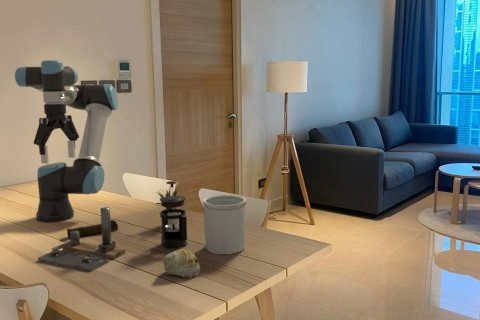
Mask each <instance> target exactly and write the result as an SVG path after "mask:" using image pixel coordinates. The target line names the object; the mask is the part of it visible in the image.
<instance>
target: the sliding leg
mask: <svg viewBox="0 0 480 320" xmlns="http://www.w3.org/2000/svg"><path fill="white" fill-rule="evenodd" d="M110 220H111V208H110V207H109V206H106V207H105V206H104V207H100V224H101V227H102V232H101V238H102V239H101V241H102V242H101V243H99V244H98V245H99V248H97V249H95V250H93V251H91V252H89V253H87V254H84V255H85V259H86V260H87V259H89V256H92V255H94V254H96V253H98V252H100V251H102V252H108V251H110V250H112V249H114V248H117V247H116V245H117V244H116V241H115V240H112V232H111V221H110Z"/></svg>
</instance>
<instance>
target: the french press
mask: <svg viewBox="0 0 480 320" xmlns="http://www.w3.org/2000/svg"><path fill="white" fill-rule="evenodd" d="M165 184H166V185H170V186H171V195H170V196H164V197H162V198H161V197H160V198H159V202H160V203H161V204H160V206H161V207H163V208H165V207H166V208H167V207H168V208H172V209H167V210H164V209H162V210H163V211H162V210H161V211H160V213H159V214H160V215H159V216H160V218H161V235H160V236H161V237H160V241H161V242H160V246H161V248H163V249H166V250H167V249H168V250H179V249H181V248H185V247H186V246H187V245H188V241H187V240H188V229H187V227H188V226H187V225H188V223H187V214H186V210H185V209H181V208H180V207H184V205H185V204H184V203H185V200H186V199H185V198H186V197H185V196H182V195H179V196H178V195H176V196H173V192H174V190H173V189H174V185H177V184H179V182H178V181H177V180H169V181H166V183H165ZM173 207H176V209H173ZM173 212H178V213H179V215H174V213H173ZM168 213H172V214H173V215H172V216H169V215H168ZM163 214H164V215H163ZM168 219H173V224H168ZM174 219H178V224H174Z"/></svg>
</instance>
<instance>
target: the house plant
mask: <svg viewBox="0 0 480 320" xmlns="http://www.w3.org/2000/svg"><path fill="white" fill-rule="evenodd" d="M171 189H172V187H171V185H170V186H169V188H168V190H167V189H165V191H166V193H165V192H164V191H163V190H162V189H161V191H162V192H163V193H164V194H162V192H161V191H159V190H157V191H155V192H154V193H155V194H157V195H158V196H159V197H160V198H162V197H166V196H171V195H172V191H171ZM179 189H180V187H177V188H176V189H175V190H173V196H181V195H182V193H184V192H185V190H183V191H182V192H180V193H178V191H179ZM185 200H187V198H186V197H185ZM155 205H157V207H159V206H161V202H156V203H155ZM184 205H185V206H186V205H187V204H186V202H184ZM164 208H165V209H162V210H161V211H163V210H167V209H172V208H168V207H164ZM173 209H177V207H173ZM173 213H174V215H180V213H178V212H173ZM163 215H164V214H163ZM168 215H169V216H172V215H173V214H172V213H168ZM168 224H173V219H168ZM174 224H179V219H174Z"/></svg>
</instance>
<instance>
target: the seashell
mask: <svg viewBox="0 0 480 320" xmlns="http://www.w3.org/2000/svg"><path fill="white" fill-rule="evenodd" d="M163 267H164V271H165V272H166V273H167V274H168V275H170V276H178V277H183V278H186V279H188V278H189V279H193V278H194V277H198V276H199V275H200V273H201V265H200V263H199V259H198V257H197V256H196V255H195V254H194V253H192V252H191V250H188V249H175V250H173V251H172V252H169V253H168V254H167V255H165V256H164V258H163Z"/></svg>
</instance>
